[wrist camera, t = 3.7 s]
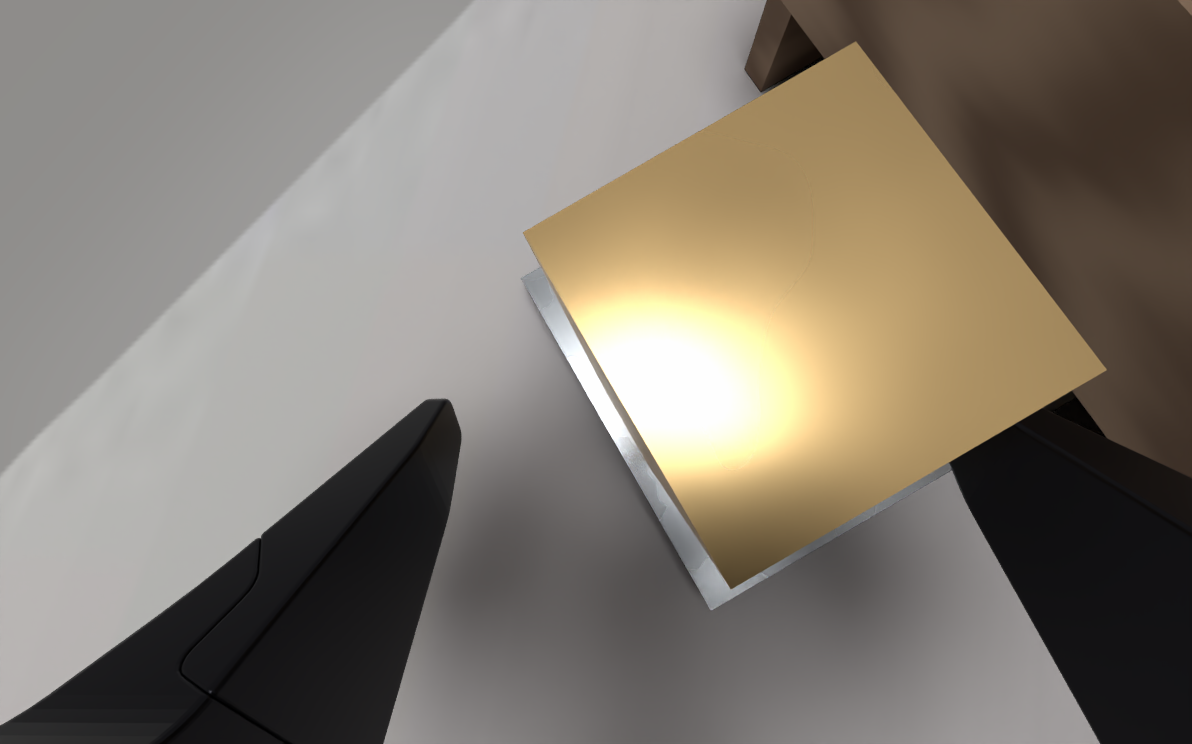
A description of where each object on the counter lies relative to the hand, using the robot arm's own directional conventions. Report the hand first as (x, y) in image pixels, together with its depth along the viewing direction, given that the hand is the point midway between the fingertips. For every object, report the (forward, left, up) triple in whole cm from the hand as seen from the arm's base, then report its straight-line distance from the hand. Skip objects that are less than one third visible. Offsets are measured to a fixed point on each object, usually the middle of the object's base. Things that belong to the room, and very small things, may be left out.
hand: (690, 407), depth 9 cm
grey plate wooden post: (0, -11, -9) cm, 14 cm away
